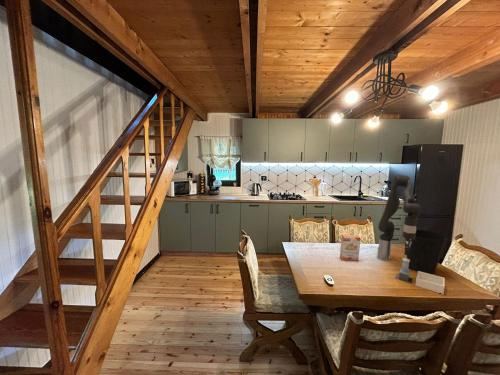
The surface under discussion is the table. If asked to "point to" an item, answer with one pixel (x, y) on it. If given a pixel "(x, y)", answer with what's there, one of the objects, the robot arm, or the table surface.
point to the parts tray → (430, 282)
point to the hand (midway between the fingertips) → (406, 253)
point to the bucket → (426, 251)
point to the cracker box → (350, 247)
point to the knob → (404, 270)
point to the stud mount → (404, 280)
